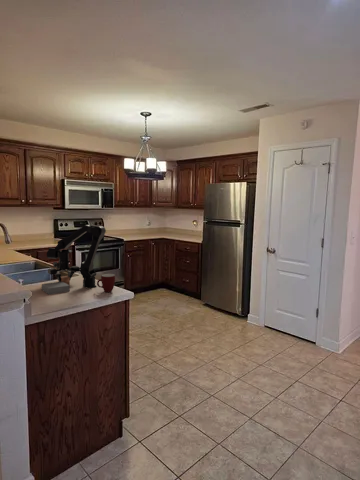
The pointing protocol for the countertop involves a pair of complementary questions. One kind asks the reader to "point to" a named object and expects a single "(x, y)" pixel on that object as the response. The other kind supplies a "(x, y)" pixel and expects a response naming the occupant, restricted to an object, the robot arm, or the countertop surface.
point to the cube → (65, 279)
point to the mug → (107, 282)
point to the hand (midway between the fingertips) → (64, 283)
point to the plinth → (55, 287)
